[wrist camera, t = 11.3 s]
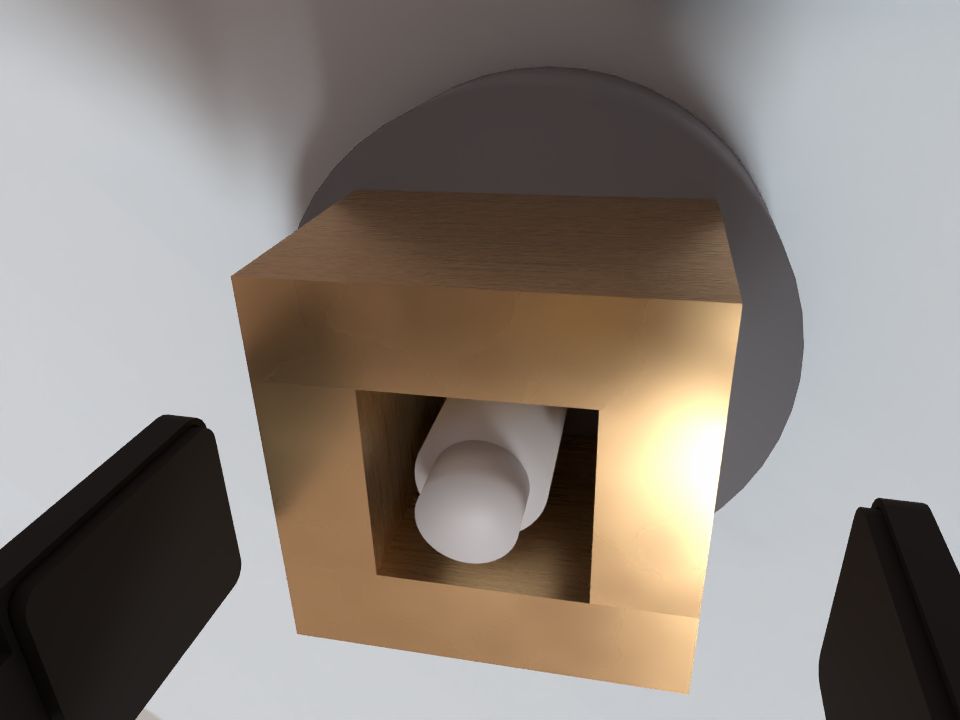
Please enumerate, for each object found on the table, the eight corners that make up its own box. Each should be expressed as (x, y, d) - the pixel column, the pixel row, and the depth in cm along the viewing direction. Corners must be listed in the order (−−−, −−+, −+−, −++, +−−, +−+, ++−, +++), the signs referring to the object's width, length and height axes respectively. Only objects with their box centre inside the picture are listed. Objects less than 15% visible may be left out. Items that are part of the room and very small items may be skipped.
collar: (718, 198, 14) (742, 303, 9) (682, 509, 17) (689, 694, 13) (354, 189, 15) (230, 276, 11) (384, 476, 18) (297, 633, 14)
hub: (822, 66, 15) (974, 155, 8) (747, 509, 20) (796, 822, 13) (308, 67, 17) (44, 137, 10) (355, 466, 22) (202, 712, 15)
